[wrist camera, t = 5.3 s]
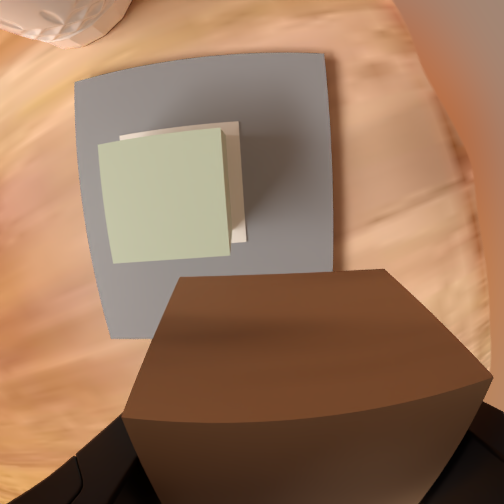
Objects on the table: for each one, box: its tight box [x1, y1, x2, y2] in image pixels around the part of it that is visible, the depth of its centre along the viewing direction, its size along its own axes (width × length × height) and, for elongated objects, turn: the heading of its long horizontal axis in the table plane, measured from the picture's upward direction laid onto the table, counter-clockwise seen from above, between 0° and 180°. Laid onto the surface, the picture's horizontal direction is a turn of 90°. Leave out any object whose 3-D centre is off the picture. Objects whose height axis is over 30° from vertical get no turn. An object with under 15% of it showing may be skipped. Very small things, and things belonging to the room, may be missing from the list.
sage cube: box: [98, 128, 232, 264], centre depth 14 cm, size 5×5×4 cm
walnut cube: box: [121, 269, 493, 504], centre depth 6 cm, size 5×5×4 cm
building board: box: [75, 53, 333, 339], centre depth 17 cm, size 16×14×1 cm
